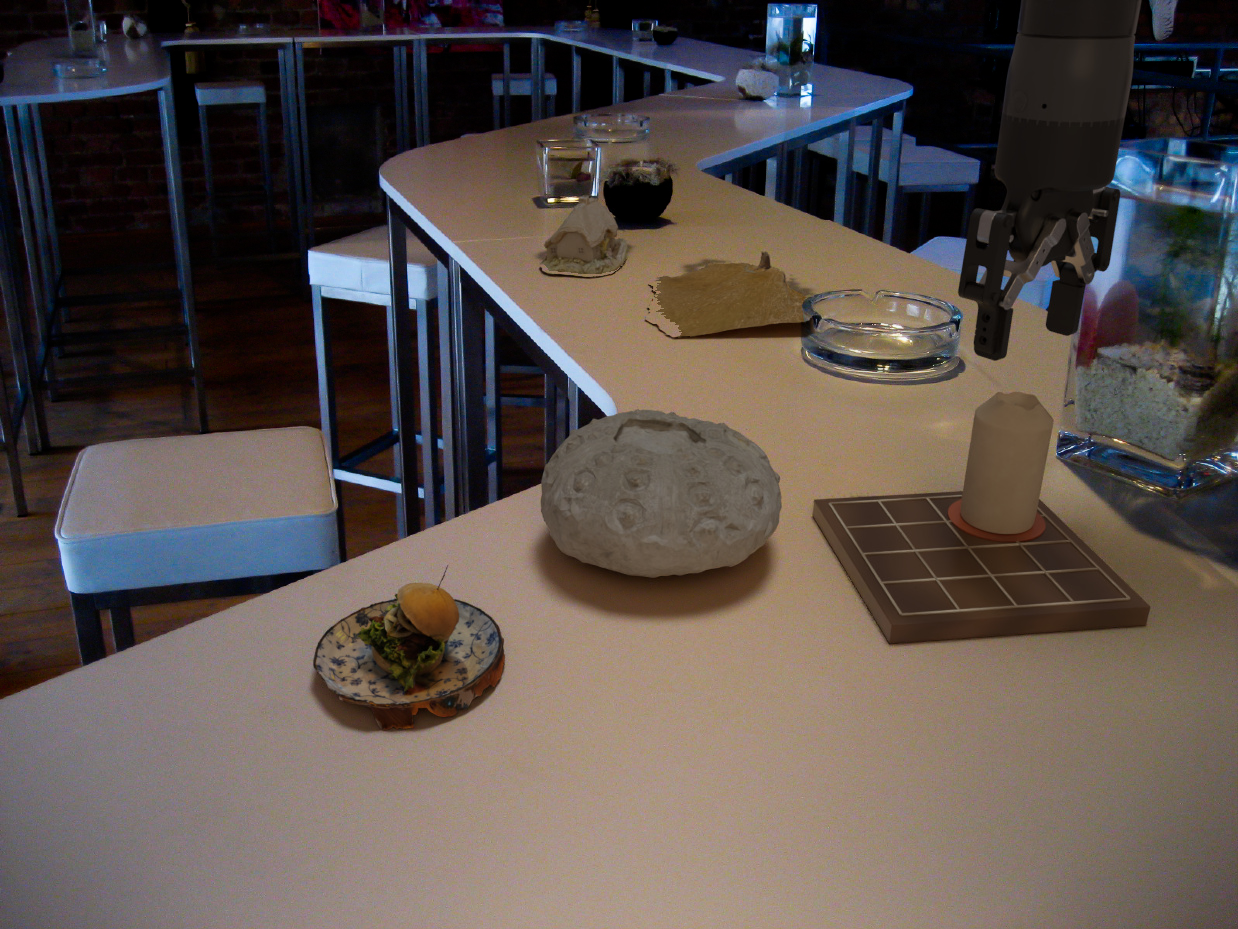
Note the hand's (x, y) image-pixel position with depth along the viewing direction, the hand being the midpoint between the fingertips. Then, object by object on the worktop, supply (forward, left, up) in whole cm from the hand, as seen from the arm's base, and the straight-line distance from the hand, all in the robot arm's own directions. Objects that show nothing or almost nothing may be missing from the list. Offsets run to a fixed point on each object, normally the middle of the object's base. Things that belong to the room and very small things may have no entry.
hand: (1026, 344), depth 78 cm
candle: (0, 0, -14) cm, 14 cm away
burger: (+44, +12, -16) cm, 48 cm away
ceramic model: (+24, -83, -16) cm, 88 cm away
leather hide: (+8, -61, -16) cm, 63 cm away
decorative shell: (+26, -1, -16) cm, 31 cm away
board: (+4, +4, -16) cm, 17 cm away
